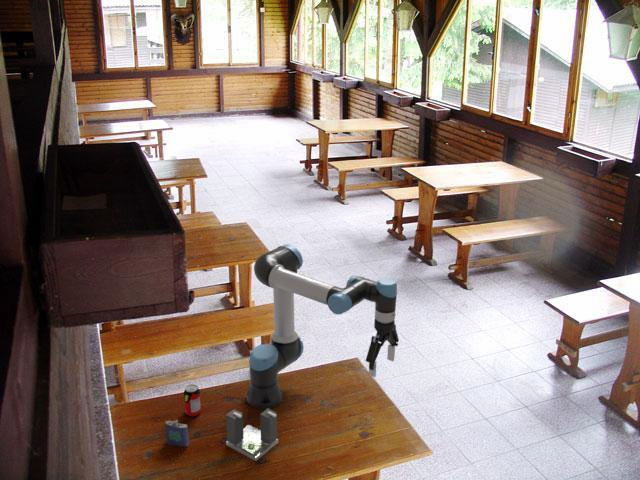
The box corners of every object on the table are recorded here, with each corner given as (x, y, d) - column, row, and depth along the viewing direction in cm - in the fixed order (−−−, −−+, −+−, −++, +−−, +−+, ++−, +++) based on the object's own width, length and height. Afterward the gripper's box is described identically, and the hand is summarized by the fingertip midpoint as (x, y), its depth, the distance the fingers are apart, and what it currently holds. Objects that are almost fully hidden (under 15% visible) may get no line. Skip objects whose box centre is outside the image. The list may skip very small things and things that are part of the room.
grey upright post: (227, 440, 243) (225, 413, 239) (235, 434, 247) (233, 407, 242) (238, 446, 240) (237, 418, 236) (245, 440, 244) (245, 413, 239)
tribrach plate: (225, 445, 244) (224, 438, 243) (248, 426, 254) (248, 420, 253) (256, 462, 236) (255, 455, 235) (279, 442, 246) (279, 435, 245)
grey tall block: (260, 440, 244) (260, 412, 240) (268, 434, 248) (267, 406, 243) (272, 446, 241) (271, 418, 237) (279, 439, 245) (279, 412, 240)
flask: (190, 443, 245) (188, 420, 241) (186, 448, 242) (184, 425, 238) (168, 439, 247) (166, 416, 243) (164, 443, 244) (162, 420, 240)
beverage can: (199, 406, 266) (198, 382, 261) (202, 415, 260) (200, 391, 256) (184, 409, 264) (182, 385, 260) (186, 418, 258) (184, 393, 254)
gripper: (375, 335, 226) (372, 386, 234) (410, 309, 245) (406, 357, 253) (357, 328, 230) (355, 378, 238) (393, 303, 249) (389, 350, 257)
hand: (381, 367), depth 246 cm, fingers open, 13 cm apart
